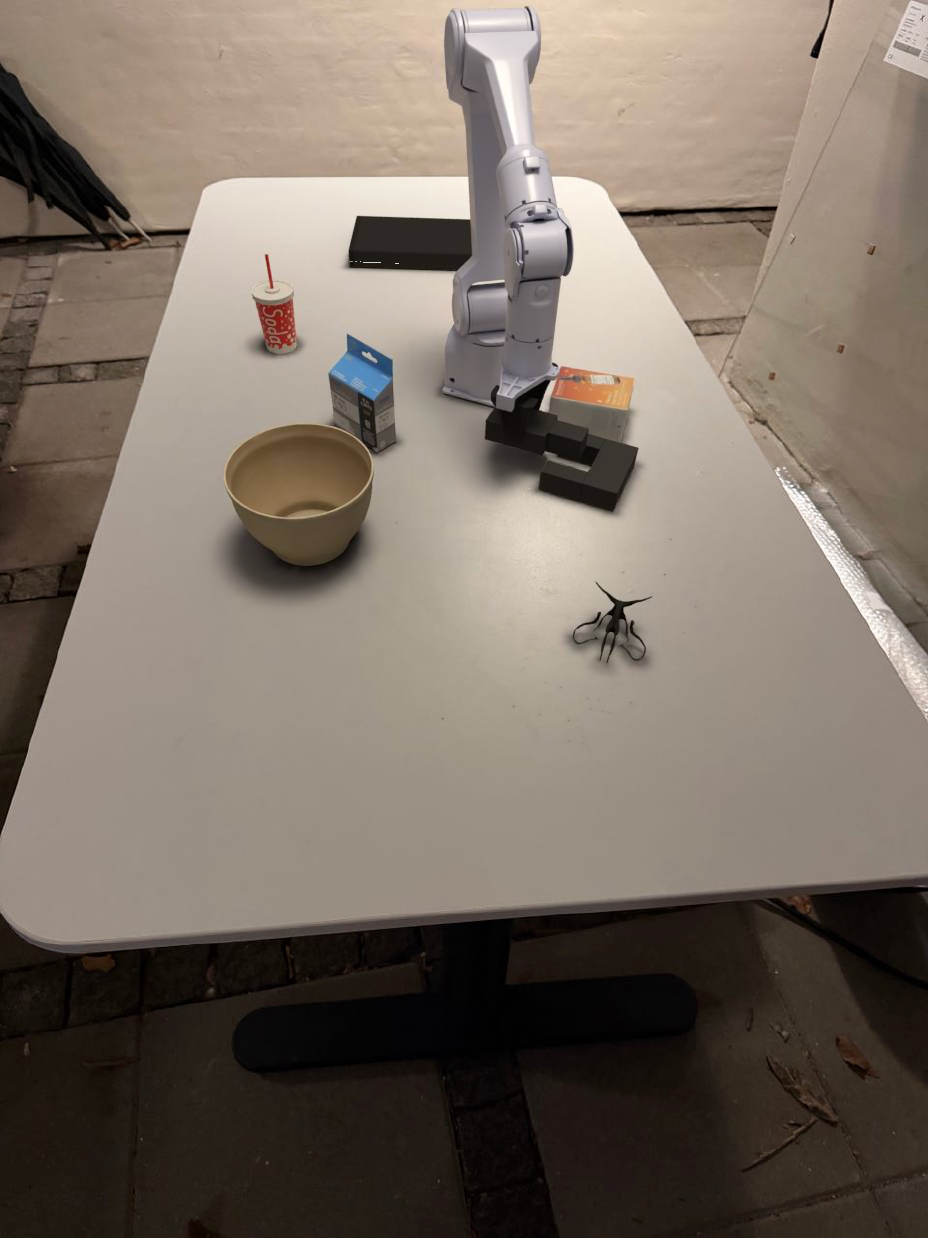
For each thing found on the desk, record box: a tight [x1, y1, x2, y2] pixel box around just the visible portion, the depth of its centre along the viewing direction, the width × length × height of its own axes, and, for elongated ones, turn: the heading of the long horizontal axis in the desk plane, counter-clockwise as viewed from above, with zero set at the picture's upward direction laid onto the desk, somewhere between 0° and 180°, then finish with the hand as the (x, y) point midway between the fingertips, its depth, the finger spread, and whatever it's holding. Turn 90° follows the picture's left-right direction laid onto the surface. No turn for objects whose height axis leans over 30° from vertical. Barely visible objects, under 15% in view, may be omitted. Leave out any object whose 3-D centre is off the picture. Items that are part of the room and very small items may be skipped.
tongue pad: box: [484, 407, 589, 461], centre depth 99 cm, size 12×5×3 cm, turn 67°
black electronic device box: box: [348, 215, 472, 271], centre depth 140 cm, size 14×23×3 cm, turn 89°
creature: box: [572, 581, 653, 664], centre depth 82 cm, size 8×5×8 cm
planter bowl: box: [222, 422, 375, 567], centre depth 88 cm, size 16×16×11 cm
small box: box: [548, 365, 636, 443], centre depth 107 cm, size 8×6×10 cm
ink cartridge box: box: [327, 333, 397, 453], centre depth 101 cm, size 9×4×12 cm, turn 47°
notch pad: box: [538, 434, 639, 512], centre depth 100 cm, size 10×10×3 cm
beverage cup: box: [250, 253, 298, 355], centre depth 114 cm, size 6×6×14 cm
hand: (520, 428), depth 100 cm, fingers closed on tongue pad, 5 cm apart
